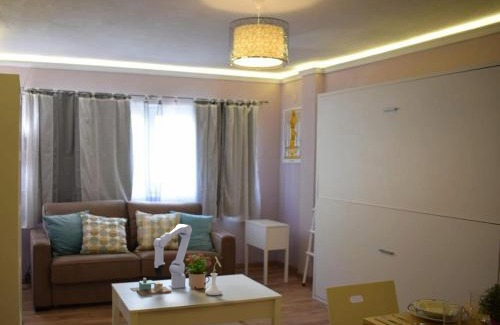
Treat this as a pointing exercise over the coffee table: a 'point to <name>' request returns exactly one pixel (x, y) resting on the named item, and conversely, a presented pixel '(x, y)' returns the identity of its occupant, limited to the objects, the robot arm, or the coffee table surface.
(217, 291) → the flower in vase
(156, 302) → the coffee table surface
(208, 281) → the coffee mug
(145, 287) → the cover
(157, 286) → the block
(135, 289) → the mat
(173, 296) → the coffee table surface
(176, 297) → the coffee table surface
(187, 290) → the coffee table surface
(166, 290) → the board
